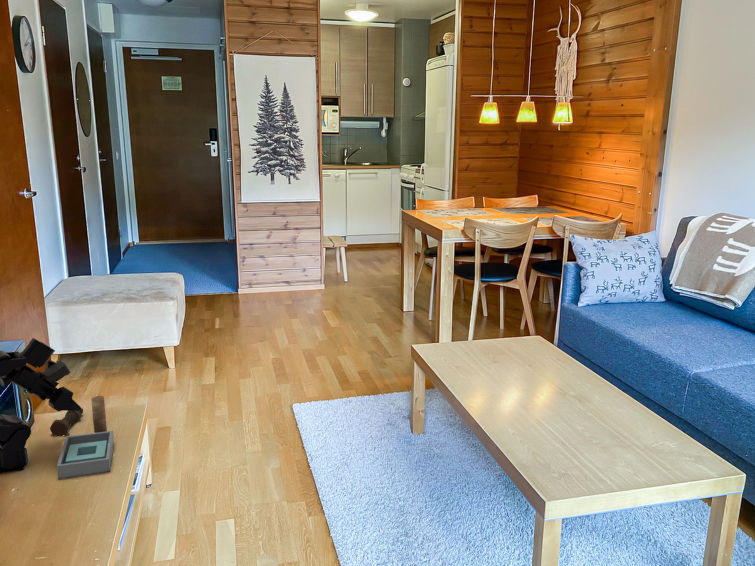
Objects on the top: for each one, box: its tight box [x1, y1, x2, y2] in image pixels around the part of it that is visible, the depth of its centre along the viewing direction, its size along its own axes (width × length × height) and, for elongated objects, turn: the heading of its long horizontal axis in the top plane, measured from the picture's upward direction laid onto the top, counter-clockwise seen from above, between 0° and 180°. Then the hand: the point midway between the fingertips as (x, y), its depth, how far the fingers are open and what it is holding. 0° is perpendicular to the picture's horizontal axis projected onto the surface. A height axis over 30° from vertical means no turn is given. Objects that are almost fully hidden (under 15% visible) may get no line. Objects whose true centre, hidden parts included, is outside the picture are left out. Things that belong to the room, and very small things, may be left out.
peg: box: [91, 395, 108, 433], centre depth 191 cm, size 4×4×13 cm
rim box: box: [56, 430, 115, 480], centre depth 178 cm, size 13×18×4 cm
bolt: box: [49, 407, 84, 437], centre depth 200 cm, size 6×5×15 cm
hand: (73, 404), depth 184 cm, fingers open, 9 cm apart
